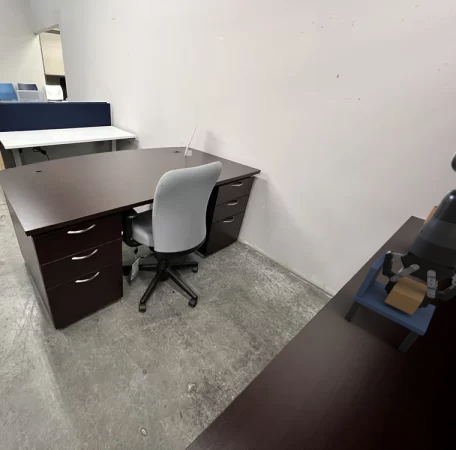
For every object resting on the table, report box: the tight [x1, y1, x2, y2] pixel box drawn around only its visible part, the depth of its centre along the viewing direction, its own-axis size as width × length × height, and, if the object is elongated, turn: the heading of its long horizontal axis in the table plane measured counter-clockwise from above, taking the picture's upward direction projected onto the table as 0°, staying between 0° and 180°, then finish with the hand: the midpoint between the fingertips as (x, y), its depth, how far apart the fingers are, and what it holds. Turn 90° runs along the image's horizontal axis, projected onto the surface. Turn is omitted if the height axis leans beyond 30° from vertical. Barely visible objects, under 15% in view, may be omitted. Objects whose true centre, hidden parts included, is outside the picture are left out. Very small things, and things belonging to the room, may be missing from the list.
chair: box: [344, 251, 437, 354], centre depth 59 cm, size 13×13×17 cm
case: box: [384, 276, 427, 315], centre depth 57 cm, size 5×9×4 cm, turn 126°
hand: (403, 298), depth 58 cm, fingers closed on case, 5 cm apart
